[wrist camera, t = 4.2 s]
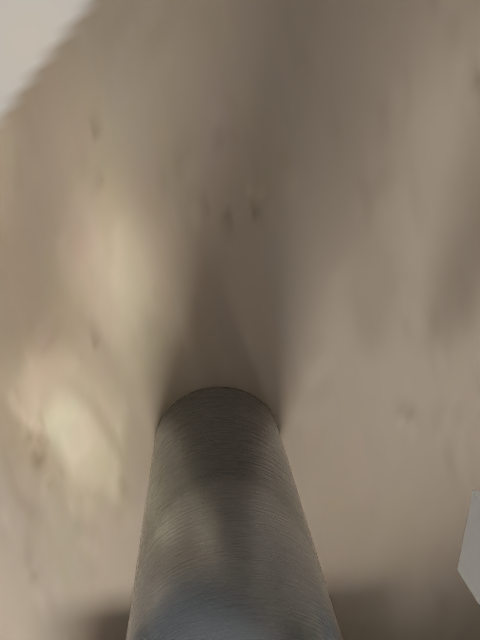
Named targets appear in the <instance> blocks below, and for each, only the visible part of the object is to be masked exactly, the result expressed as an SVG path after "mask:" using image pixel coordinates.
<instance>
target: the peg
mask: <svg viewBox="0 0 480 640" xmlns="http://www.w3.org/2000/svg"><path fill="white" fill-rule="evenodd" d="M126 640H343V639H342V635H341V632H340V629H339V626H338V622H337V619H336V616H335V612H334V609H333V606H332V603H331V599H330V596H329V593H328V590H327V586H326V583H325V580H324V577H323V573H322V570H321V567H320V564H319V560H318V557H317V554H316V551H315V547H314V544H313V541H312V538H311V534H310V531H309V528H308V524H307V521H306V518H305V515H304V511H303V508H302V505H301V502H300V498H299V495H298V492H297V489H296V485H295V482H294V479H293V476H292V472H291V469H290V466H289V463H288V459H287V456H286V453H285V450H284V446H283V443H282V440H281V436H280V433H279V430H278V427H277V424H276V421H275V419H274V417H273V415H272V413H271V412H270V410H269V409H268V408H267V407H266V406H265V405H264V404H263V403H262V402H261V401H260V400H259V399H257V398H256V397H254V396H252V395H250V394H249V393H246V392H244V391H241V390H237V389H233V388H226V387H214V388H206V389H202V390H198V391H195V392H193V393H190V394H188V395H186V396H184V397H183V398H181V399H180V400H178V401H177V402H176V403H174V404H173V405H172V406H171V407H170V408H169V409H168V410H167V412H166V413H165V414H164V416H163V417H162V419H161V421H160V423H159V425H158V428H157V431H156V437H155V444H154V451H153V458H152V464H151V471H150V478H149V485H148V492H147V498H146V505H145V512H144V519H143V526H142V533H141V539H140V546H139V553H138V560H137V567H136V574H135V580H134V587H133V594H132V601H131V608H130V614H129V621H128V628H127V635H126Z"/></svg>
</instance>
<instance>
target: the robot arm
mask: <svg viewBox="0 0 480 640" xmlns="http://www.w3.org/2000/svg"><path fill="white" fill-rule="evenodd" d="M457 571H458V572H459V574H460V575H461V577H462V579H463V580H464V582H465V583H466V585H467V586H468V588H469V590H470V591H471V593H472V594H473V596H474V597H475V599H476V600H477V602H478V604H479V605H480V490H474V491H473V492H472V497H471V502H470V507H469V512H468V517H467V522H466V528H465V533H464V538H463V543H462V548H461V553H460V558H459V563H458V568H457Z"/></svg>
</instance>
